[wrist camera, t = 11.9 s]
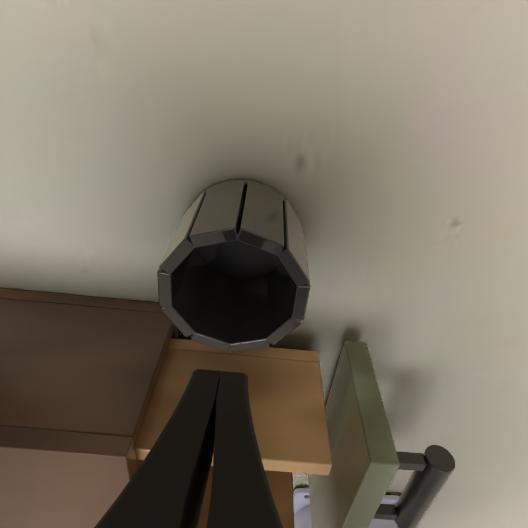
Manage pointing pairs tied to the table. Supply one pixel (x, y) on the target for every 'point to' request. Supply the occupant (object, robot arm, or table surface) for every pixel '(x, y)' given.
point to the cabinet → (73, 402)
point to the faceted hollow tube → (236, 268)
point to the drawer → (310, 433)
